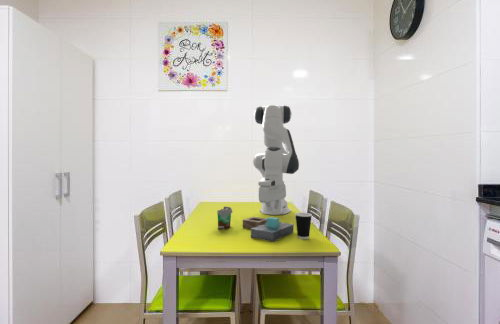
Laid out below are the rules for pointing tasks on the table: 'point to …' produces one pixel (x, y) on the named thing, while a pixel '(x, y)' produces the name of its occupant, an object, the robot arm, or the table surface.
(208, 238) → the table surface
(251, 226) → the brown hollow square block
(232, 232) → the table surface
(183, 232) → the table surface
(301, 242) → the table surface
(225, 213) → the food container
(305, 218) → the dixie cup
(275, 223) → the plug
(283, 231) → the port box
